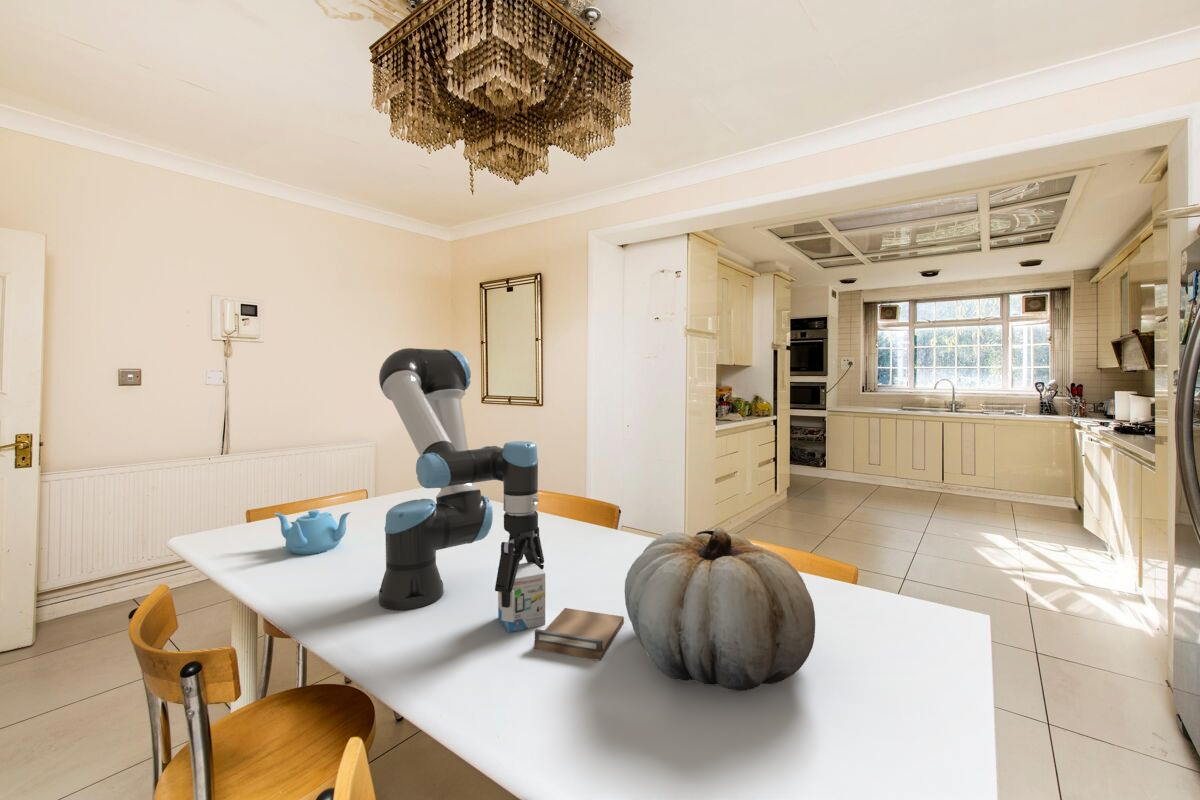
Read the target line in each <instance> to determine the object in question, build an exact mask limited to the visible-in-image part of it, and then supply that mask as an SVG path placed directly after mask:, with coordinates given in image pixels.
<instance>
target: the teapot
mask: <svg viewBox="0 0 1200 800" xmlns="http://www.w3.org/2000/svg"><path fill="white" fill-rule="evenodd" d="M307 513H308V514H305V515H302V516H299V517H298V518H296V519H295V521H290V522H288V519H287V517H286V515H285V514H284V513H279V512H274V513H273V514H274V515H275V516H276V517H277V518H278V519H279V522H280V532H281V535H282V537H283V538H284V539H285V548H286V549H287V550H288V551H289V552H290V553H291V554H293V553H294V555H299V554H307V555H314V554H313V553H316V554H320V553H319V552H321V553H325V552H328V551H327V550H329V551H331V550H334V549H335V548H336V547H337V546H338V545H339V544H340V543H341V541H342V538H343V537H344V536H345V534H346V531H347V517H348V516H349V514H350V513H352V512H351V511H350V512H346V513H342V515H340V517H339V521H338V522H337V521H336V520H335V518H334V517H333V515H332V513H330V512H326V511H324V512H322V513H320V510H319V509H313V510H308V511H307ZM289 523H290V524H291V526H290V524H289ZM330 549H331V550H330ZM324 551H325V552H324Z"/></svg>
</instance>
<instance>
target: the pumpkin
mask: <svg viewBox="0 0 1200 800" xmlns="http://www.w3.org/2000/svg"><path fill="white" fill-rule="evenodd" d="M713 531H714V532H713V534H712V535H710V534H703V533H702V534H699V535H696V534H695V535H694V536H692V535H689V534H687V533H684V532H676V531H674V532H668V533H665V534H662V535H660V536H659V537H657V538H655V539H654V540H653V539H652V542H650V544H648V546H646V547H645V548H644V550H643V551H642V553H641V554H640V555H639V556H638V557H637V558H636V559H635V561H634V562H633V563H632V564H631V566H630V568H629V570H628V572H627V575H626V577H625V580H624V600H625V603H624V604H625V607H626V612H627V616H628V619H629V622H631V626H632V630H633V632H634V635H635V636H636V638H637V641H638V642H639V644H640V646H641V647H642V648H643V650H644V651H645V652H646V655H647V656H648V658H649V659H650V661H651V662H652V664H653V665H654V666H655V668H656V669H657V670H659V671H660V672H661V673H662V674H664V676H666V677H668V678H671V679H674V680H676V681H684V682H685V681H688V682H689V681H695V682H698V683H699V684H701V685H706V686H715V685H716V686H717V685H718V686H720V687H722V688H724V689H726V690H729V691H737V692H740V691H741V692H743V691H744V692H746V691H750V690H755V689H756V688H758V687H760V686H761V685H774V684H777V683H780V682H781V683H782V682H783V681H785V680H787V679H789V678H790V677H792V676H793V675H795V673H796V672H797V671H799V669H801V668H802V667H803V665H805V662H806V661H807V660H808V658H809V656H810V654H811V651H812V649H813V646H814V642H815V635H816V634H815V633H816V613H815V607H814V602H813V599H812V596H811V594H810V592H809V590H808V588H807V586H806V583H805V581H804V579H803V578H802V576H801V575H800V573H799V571H797V569H796V567H794V566H793V565H792V564H791V563H790V561H788V560H787V559H786V558H784V557H783V556H782V555H780V554H778V553H776V552H774V551H771V550H770V549H766V548H764V547H762V546H758V545H755V544H753V543H752V542H751V541H749V539H747V538H746V537H744V536H742V535H739V534H736V533H728V532H727V531H726V530H725V529H724V528H723V527H717V528H715V529H714V530H713Z"/></svg>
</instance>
